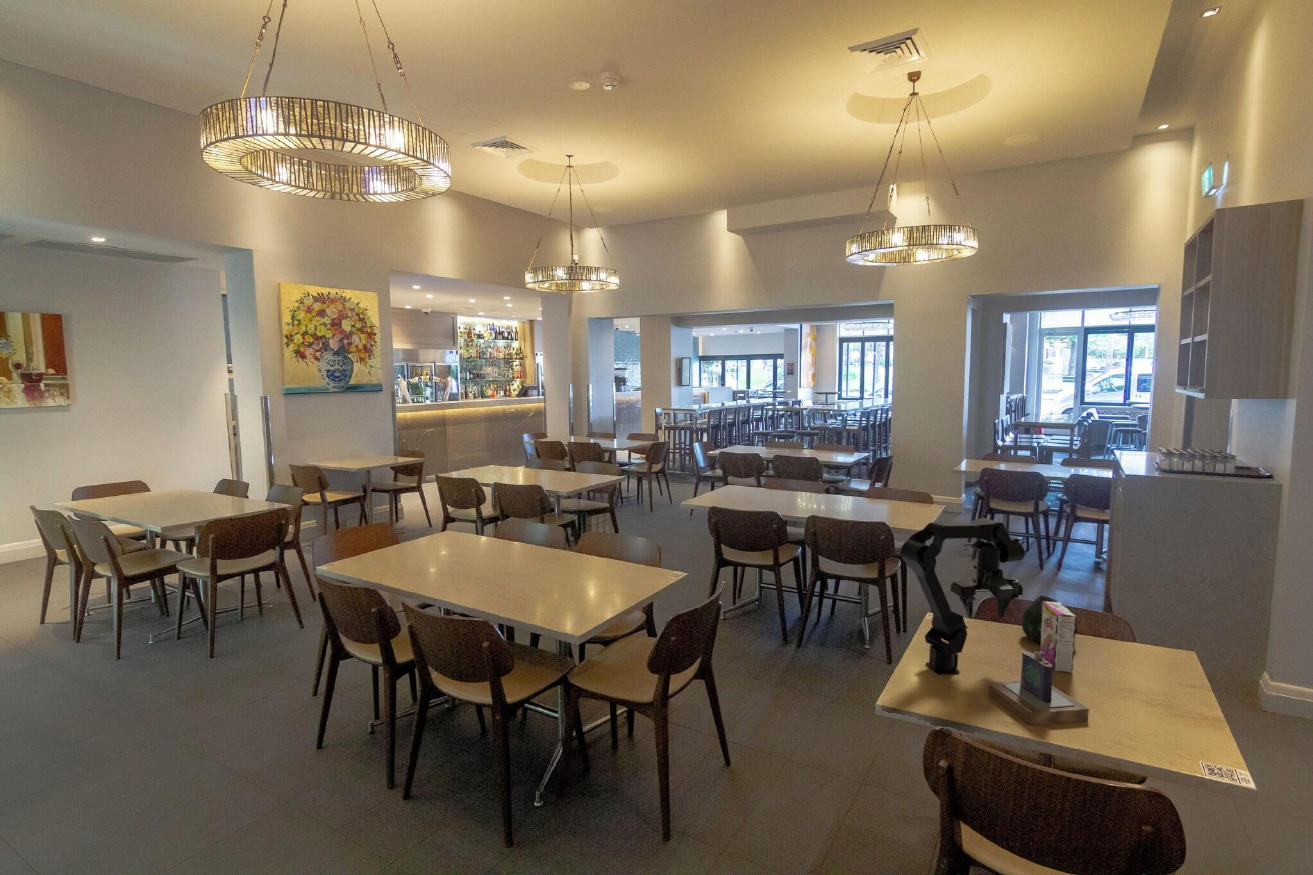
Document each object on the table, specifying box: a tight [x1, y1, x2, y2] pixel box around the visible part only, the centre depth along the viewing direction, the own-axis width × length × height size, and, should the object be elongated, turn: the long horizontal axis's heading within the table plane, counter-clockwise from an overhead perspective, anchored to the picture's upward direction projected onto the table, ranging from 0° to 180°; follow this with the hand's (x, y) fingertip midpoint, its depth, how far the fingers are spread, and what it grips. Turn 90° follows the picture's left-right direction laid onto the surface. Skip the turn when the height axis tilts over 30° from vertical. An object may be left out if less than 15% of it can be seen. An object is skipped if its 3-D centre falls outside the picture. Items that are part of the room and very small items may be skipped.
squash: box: [1021, 595, 1078, 643], centre depth 201 cm, size 14×15×15 cm
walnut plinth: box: [988, 680, 1090, 726], centre depth 161 cm, size 15×15×3 cm
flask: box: [1020, 651, 1054, 703], centre depth 160 cm, size 9×3×11 cm, turn 8°
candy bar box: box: [1039, 601, 1077, 674], centre depth 184 cm, size 11×5×16 cm, turn 168°
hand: (985, 617), depth 185 cm, fingers open, 9 cm apart
